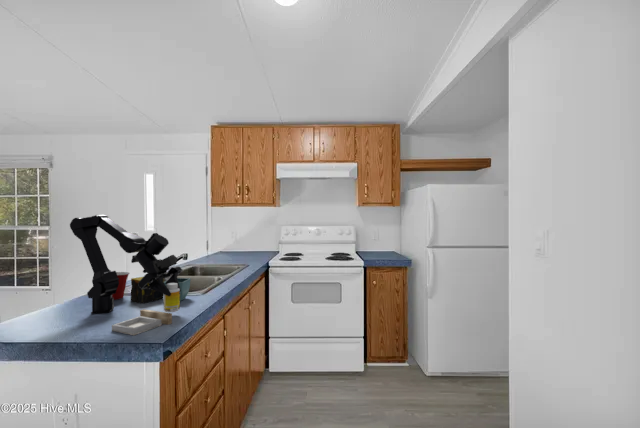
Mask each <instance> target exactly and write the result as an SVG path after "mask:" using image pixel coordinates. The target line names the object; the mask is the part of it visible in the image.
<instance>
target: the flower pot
mask: <svg viewBox="0 0 640 428" xmlns="http://www.w3.org/2000/svg"><path fill="white" fill-rule="evenodd" d="M177 280H178V283H179V286H180V289H181V291H180V302H181V301H183V300H184V299H186V297H187V296H188V294H189V292H190V287H191V280H192V279H191V278H189V277H188V278H187V277H186V278H179V277H177ZM166 282H167V280H164V284H165V283H166ZM165 285H166V284H165Z"/></svg>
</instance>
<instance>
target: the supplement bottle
mask: <svg viewBox="0 0 640 428" xmlns="http://www.w3.org/2000/svg"><path fill="white" fill-rule="evenodd" d="M166 287H167V288H168V290H169V291H170V293H171V295H170V296H167V295H165V294H164V295H163V297H164V298H163V312H165V313H175V312H178V311H179V310H180V309H181V307H180V306H181V301H180V289H179V288H178V283H168V284H166Z"/></svg>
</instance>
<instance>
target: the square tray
mask: <svg viewBox="0 0 640 428" xmlns="http://www.w3.org/2000/svg"><path fill="white" fill-rule="evenodd" d="M161 326H162V324H161V319H155V318H149V317H143V316H140V315H139V316H136V317H133V318H131V319H126V320H124V321H120V322H117V323H115V324H111V332H114V333H120V334H125V335H130V336H136V335H138V334H142V333H145V332H148V331H150V330H153V329H155V328H157V327H161Z"/></svg>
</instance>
